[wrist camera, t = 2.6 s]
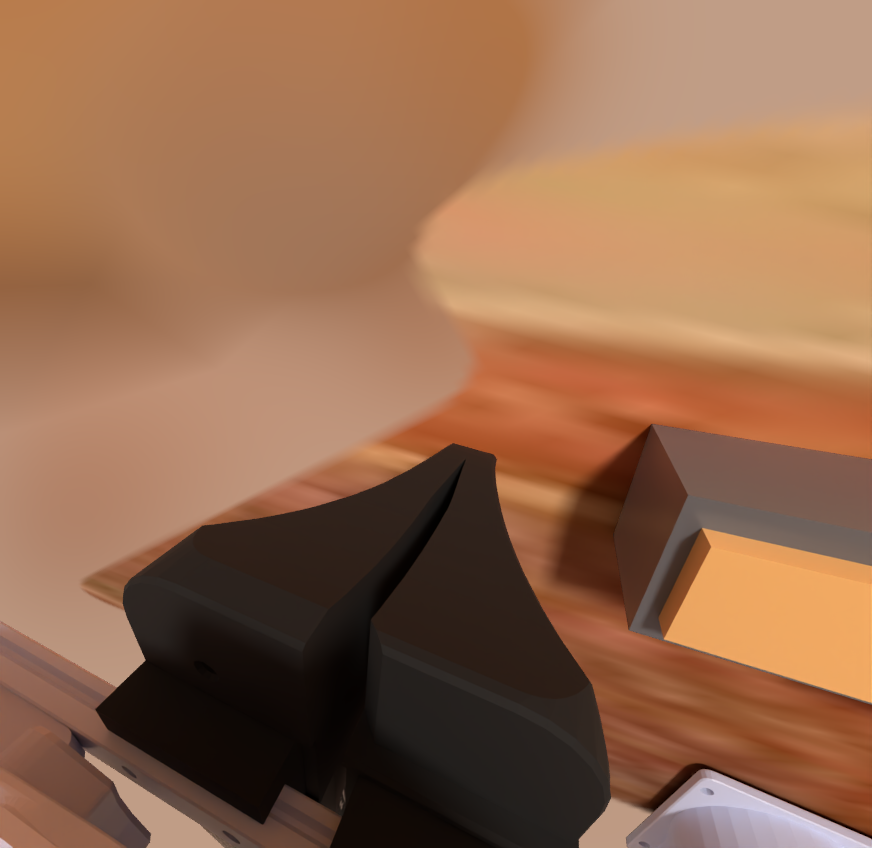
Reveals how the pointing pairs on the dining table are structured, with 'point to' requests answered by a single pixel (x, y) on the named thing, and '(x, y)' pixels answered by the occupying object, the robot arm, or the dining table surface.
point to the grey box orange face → (752, 555)
